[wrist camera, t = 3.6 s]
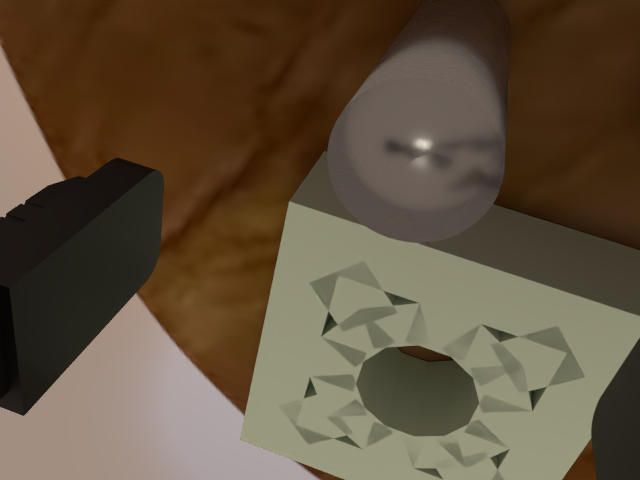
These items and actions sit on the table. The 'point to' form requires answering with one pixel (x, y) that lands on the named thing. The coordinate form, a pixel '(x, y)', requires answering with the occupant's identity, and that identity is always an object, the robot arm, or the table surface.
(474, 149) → the cylinder
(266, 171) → the table surface
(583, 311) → the pale green flat block
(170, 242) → the table surface
